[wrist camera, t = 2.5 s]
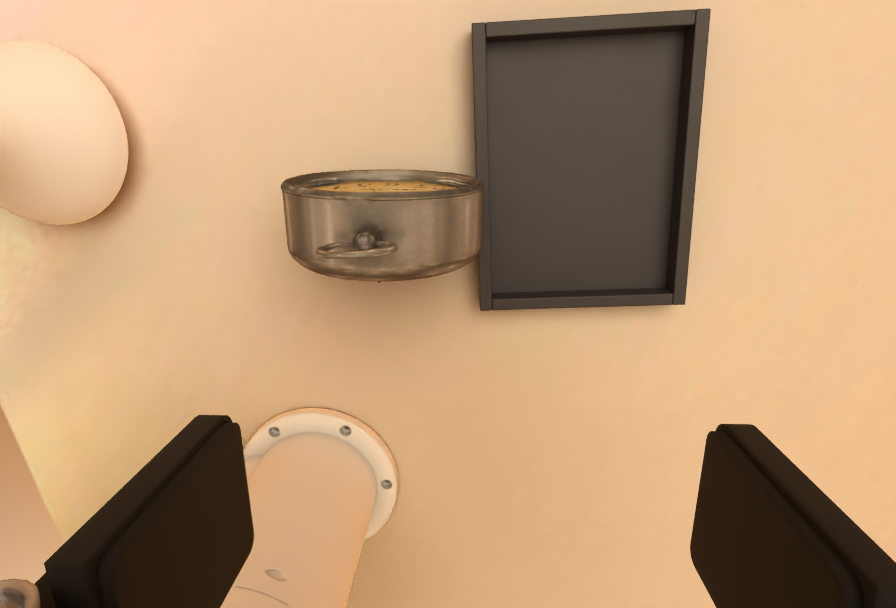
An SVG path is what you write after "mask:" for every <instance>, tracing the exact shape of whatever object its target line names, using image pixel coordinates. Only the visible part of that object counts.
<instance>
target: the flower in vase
mask: <svg viewBox="0 0 896 608" xmlns="http://www.w3.org/2000/svg"><path fill="white" fill-rule="evenodd" d="M127 164H128V139H127V133H126V129H125V125H124V122H123V119H122V116H121V114H120V111H119V109H118V107H117V105H116V103H115V101H114V99H113V98H112V96H111V94H110V93H109V91H108V90H107V88H106V87H105V86H104V84H103V83H102V82H101V81H100V79H99V78H98V77H97V76H96V75H95V74H94V73H93V72H92V71H91V70H90V69H89V68H88V67H87V66H86V65H85V64H83V63H82V62H81V61H80V60H78V59H77V58H75V57H74V56H72V55H71V54H69V53H67V52H66V51H64V50H62V49H59V48H57V47H55V46H52V45H49V44H46V43H43V42H39V41H33V40H10V41H5V42H1V43H0V206H1V207H3V208H4V209H6V210H8V211H9V212H11V213H14V214H16V215H18V216H20V217H24V218H27V219H30V220H33V221H37V222H41V223H46V224H53V225H67V224H75V223H79V222H83V221H85V220H88V219H90V218H92V217H94V216H96V215H97V214H99V213H100V212H102V211H103V210H104V209H105V208H106V207H108V206H109V204H110V203H111V202H112V201H113V200H114V199H115V197H116V195H117V194H118V192H119V191H120V188H121V186H122V184H123V181H124V178H125V174H126V171H127Z"/></svg>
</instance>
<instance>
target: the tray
mask: <svg viewBox="0 0 896 608" xmlns="http://www.w3.org/2000/svg"><path fill="white" fill-rule="evenodd" d="M709 21H710V9H697V10H680V11H664V12H648V13H632V14H615V15H599V16H583V17H567V18H551V19H535V20H518V21H502V22H487V23H486V24H485V23H472V55H473V88H474V122H475V155H476V178H478V179H480V180H481V181H482V182H483V183H484V205H483V237H482V247H481V249H480V251H479V253H478V256H479V289H480V310H481V311H484V310H513V309H546V308H579V307H612V306H645V305H672V304H673V305H683V304H685V297H686V286H687V274H688V263H689V251H690V240H691V228H692V217H693V205H694V194H695V182H696V171H697V159H698V148H699V136H700V125H701V113H702V102H703V90H704V79H705V67H706V56H707V44H708V33H709Z"/></svg>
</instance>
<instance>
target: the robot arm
mask: <svg viewBox="0 0 896 608" xmlns="http://www.w3.org/2000/svg"><path fill="white" fill-rule="evenodd" d="M346 426H348V427H346ZM397 491H398V473H397V469H396V465H395V461H394V459H393V457H392V455H391V453H390V451H389V449H388V447H387V446H386V445H385V443H384V442H383V441H382V439H381V438H380V437H379V436H378V435H377V434H376V433H375V432H374V431H373V430H372V429H371V428H370V427H368V426H367V425H365V424H364V423H362V422H361V421H359V420H357V419H356V418H353V417H351V416H349V415H346V414H344V413H342V412H338V411H334V410H330V409H323V408H303V409H295V410H292V411H289V412H285V413H282V414H280V415H278V416H276V417H274V418H272V419H271V420H269V421H268V422H266V423H265V424H264V425H263V426H262V427H260V428H259V429H258V431H257V432H256V433H255V434H254V436H253V437H252V438H251V439H250V441H249V442H248V444H247V446H246V447H245V449H244V451H243V445H242V437H241V430H240V426H239V425H238V424H237V423H232V420H231V418H230V417H229V416H227V415H198V416H197V417H195V418H194V419H193V420H192V421H191V422H190V423H189V424H188V425H187V426H186V427H185V428H184V429H183V430H182V431H181V432H180V433H179V434H178V435H177V436H175V437H174V438H173V439H172V440H171V441H170V442H169V443H168V444H167V445H166V446H165V447H164V448H163V449H162V450H161V451H160V452H159V453H158V454H157V455H156V456H155V457H154V458H153V459H152V460H151V461H150V462H148V463H147V464H146V465H145V466H144V467H143V468H142V469H141V470H140V471H139V472H138V473H137V474H136V475H135V476H134V477H133V478H132V479H131V480H130V481H129V482H128V483H127V484H126V485H125V486H124V487H123V488H122V489H120V490H119V491H118V492H117V493H116V494H115V495H114V496H113V497H112V498H111V499H110V500H109V501H108V502H107V503H106V504H105V505H104V506H103V507H102V508H101V509H100V510H99V511H98V512H97V513H96V514H95V515H93V516H92V517H91V518H90V519H89V520H88V521H87V522H86V523H85V524H84V525H83V526H82V527H81V528H80V529H79V530H78V531H77V532H76V533H75V534H74V535H73V536H72V537H71V538H70V539H69V540H68V541H67V542H65V543H64V544H63V545H62V546H61V547H60V548H59V549H58V550H57V551H56V552H55V553H54V554H53V555H52V556H51V557H50V558H49V559H48V560H47V561H46V562H45V563H44V565H45V568H46V573H45V574H44V575H43V576H42V577H41V578H40V579H39V580H38V581H37V582H36V583H35V584H33V583H31V582H29V581H28V580H19V579H9V580H2V581H0V608H346V605H347V601H348V597H349V594H350V590H351V587H352V583H353V579H354V576H355V572H356V569H357V565H358V561H359V558H360V554H361V551H362V547H363V543H364V541H366V540H367V539H369V538H370V537H371V536H373V535H374V534H376V533H377V532H378V531H379V530H380V529H381V528H382V527H383V525H384V524H385V523H386V522H387V520H388V518H389V517H390V515H391V513H392V511H393V508H394V505H395V501H396V497H397ZM690 551H691V558H692V561H693V564H694V566H695V568H696V570H697V572H698V574H699V576H700V578H701V580H702V581H703V583H704V585H705V587H706V589H707V591H708V593H709V594H710V596H711V598H712V600H713V602H714V604H715V606H716V608H896V563H895V562H894V561H893V560H892V559H891V558H890V557H889V556H888V555H887V554H886V553H885V552H884V551H883V550H882V549H881V548H880V547H879V546H878V545H877V544H876V543H875V542H874V541H873V540H872V539H871V538H870V537H869V536H868V535H867V534H866V533H865V532H863V531H862V530H861V529H860V528H859V527H858V526H857V525H856V524H855V523H854V522H853V521H852V520H851V519H850V518H849V517H848V516H847V515H846V514H845V513H844V512H843V511H842V510H841V509H840V508H839V507H838V506H837V505H836V504H835V503H834V502H833V501H832V500H831V499H830V498H828V497H827V496H826V495H825V494H824V493H823V492H822V491H821V490H820V489H819V488H818V487H817V486H816V485H815V484H814V483H813V482H812V481H811V480H810V479H809V478H808V477H807V476H806V475H805V474H804V473H803V472H802V471H801V470H800V469H799V468H798V467H797V466H796V465H795V464H793V463H792V462H791V461H790V460H789V459H788V458H787V457H786V456H785V455H784V454H783V453H782V452H781V451H780V450H779V449H778V448H777V447H776V446H775V445H774V444H773V443H772V442H771V441H770V440H769V439H768V438H767V437H766V436H765V435H764V434H763V433H762V432H761V431H759V430H758V429H757V428H756V427H755V426H754V425H749V424H720V425H719V426H718V427H717V429H716V431H711V432H709V434H708V435H707V439H706V446H705V452H704V459H703V465H702V472H701V479H700V485H699V492H698V498H697V505H696V511H695V518H694V524H693V531H692V537H691V544H690Z"/></svg>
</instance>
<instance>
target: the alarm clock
mask: <svg viewBox="0 0 896 608" xmlns="http://www.w3.org/2000/svg"><path fill="white" fill-rule="evenodd" d="M281 189H282V193H283V201H284V212H285V223H286V233H287V244H288V249H289V252H290V254H291V255H292V257H293V258H294V259H295V260H296V261H297V262H298V263H300V264H301V265H302V266H304V267H306V268H307V269H309V270H311V271H314V272H316V273H319V274H322V275H326V276H330V277H335V278H341V279H347V280H359V281H378V282H379V283H380V282H381V281H403V280H413V279H421V278H427V277H433V276H437V275H441V274H445V273H448V272H451V271H454V270H457V269H459V268H461V267H463V266H465V265H466V264H468V263H469V262H470V261H472V260H473V259H474V258H475V257H476V256H477V254H478V253H479V251H480V249H481V247H482V237H483V205H484V183H483V182H482V181H481V180H480V179H478V178H475V177H471V176H467V175H462V174H455V173H444V172H434V171H418V170H351V171H339V172H322V173H312V174H306V175H300V176H296V177H292V178H289V179H286V180H285V181H284V182H283V183H282V185H281Z"/></svg>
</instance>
